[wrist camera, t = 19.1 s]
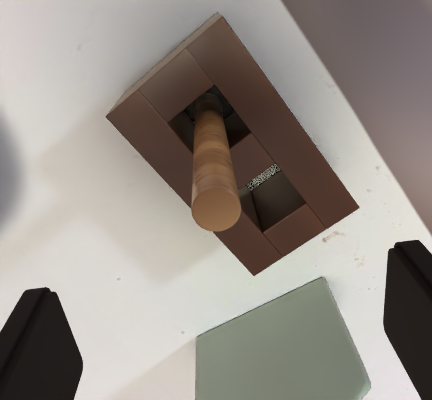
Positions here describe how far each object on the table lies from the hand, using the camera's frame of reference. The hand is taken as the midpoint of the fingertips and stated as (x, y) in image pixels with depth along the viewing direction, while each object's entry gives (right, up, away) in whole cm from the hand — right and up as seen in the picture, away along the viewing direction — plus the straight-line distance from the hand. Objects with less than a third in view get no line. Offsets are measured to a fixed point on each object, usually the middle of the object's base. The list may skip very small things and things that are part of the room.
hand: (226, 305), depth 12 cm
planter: (+6, -12, +36) cm, 39 cm away
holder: (+1, +9, +26) cm, 27 cm away
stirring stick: (-1, +11, +25) cm, 27 cm away
